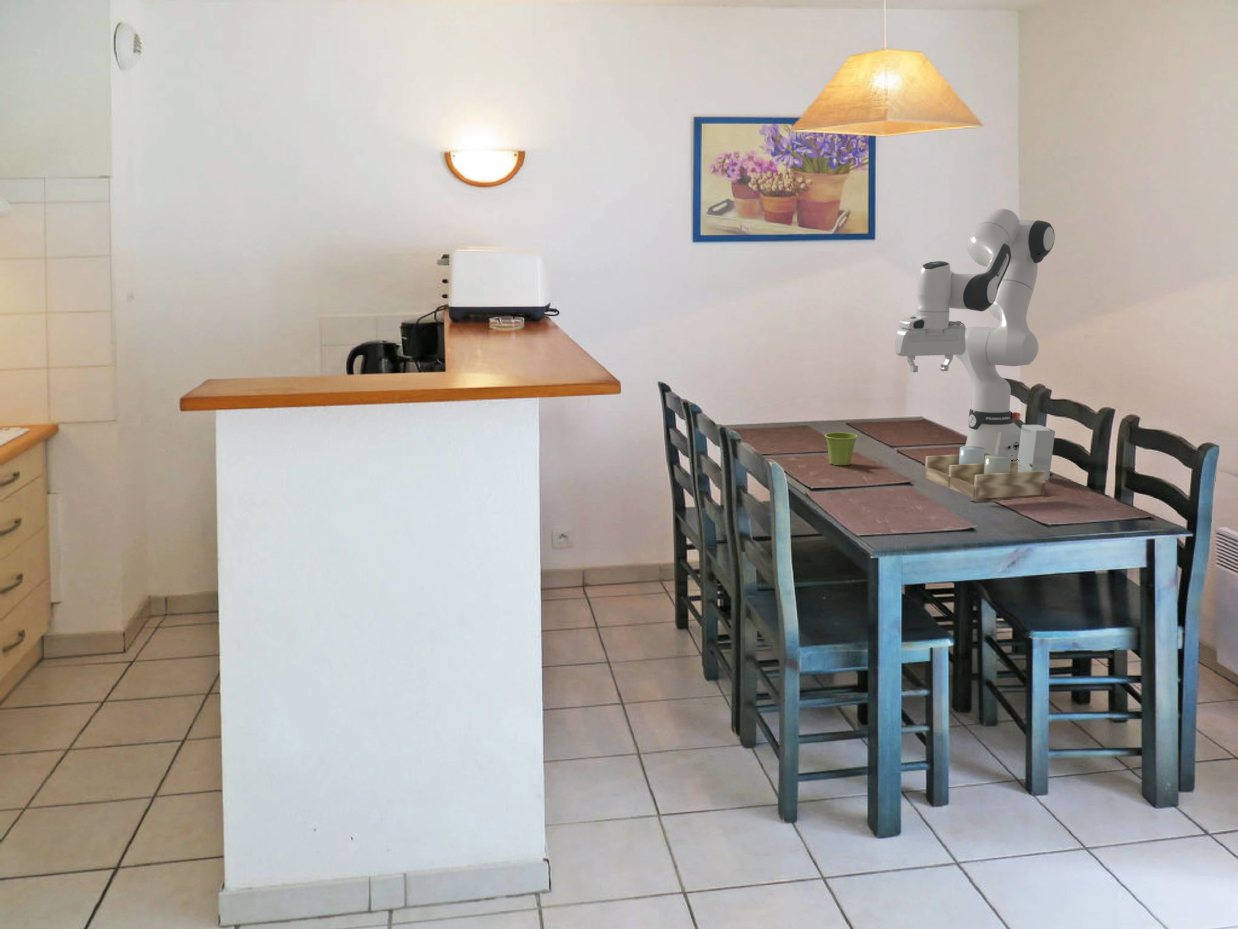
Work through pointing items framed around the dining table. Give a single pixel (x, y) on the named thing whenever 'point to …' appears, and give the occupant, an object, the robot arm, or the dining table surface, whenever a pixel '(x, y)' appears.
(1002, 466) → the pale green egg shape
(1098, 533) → the dining table surface
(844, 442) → the plant pot
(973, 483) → the rack
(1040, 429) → the skincare box
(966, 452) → the pale blue-grey rounded dome
